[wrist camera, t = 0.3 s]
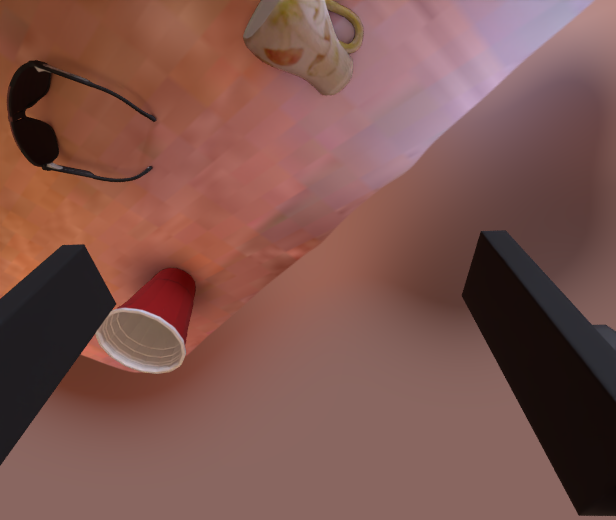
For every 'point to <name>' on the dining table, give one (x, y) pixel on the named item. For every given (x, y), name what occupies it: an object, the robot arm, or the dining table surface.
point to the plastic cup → (151, 324)
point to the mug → (304, 41)
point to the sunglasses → (37, 134)
